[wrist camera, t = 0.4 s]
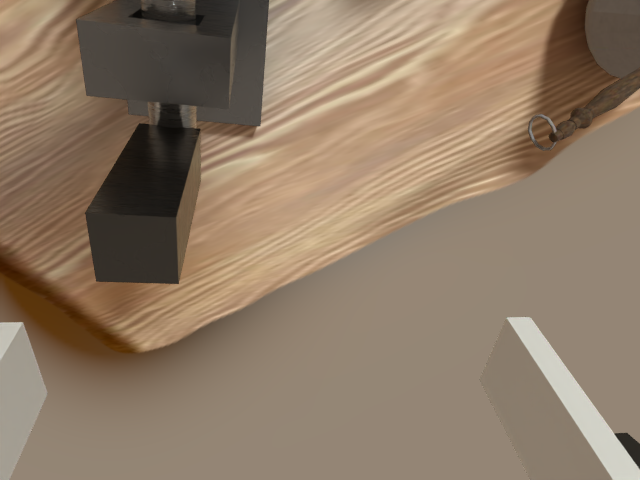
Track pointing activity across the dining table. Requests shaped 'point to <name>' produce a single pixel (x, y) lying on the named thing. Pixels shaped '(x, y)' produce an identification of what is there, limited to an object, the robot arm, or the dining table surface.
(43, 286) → the dining table surface
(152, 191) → the shaft
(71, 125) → the dining table surface
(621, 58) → the coffee pot
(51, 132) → the dining table surface
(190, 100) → the shaft stand
